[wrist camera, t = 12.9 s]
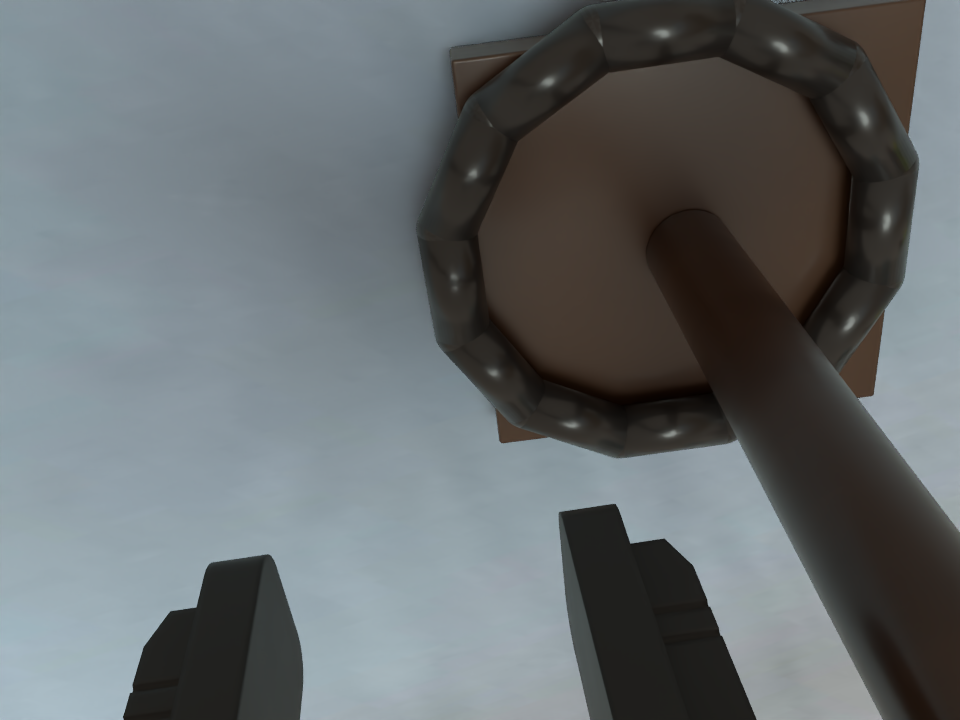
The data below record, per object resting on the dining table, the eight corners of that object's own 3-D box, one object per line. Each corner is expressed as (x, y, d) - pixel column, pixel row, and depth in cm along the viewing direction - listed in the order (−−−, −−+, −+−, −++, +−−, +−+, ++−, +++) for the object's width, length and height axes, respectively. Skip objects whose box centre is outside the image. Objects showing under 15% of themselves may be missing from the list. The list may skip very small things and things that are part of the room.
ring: (458, 459, 22) (460, 491, 21) (383, 28, 17) (380, 42, 16) (872, 402, 22) (894, 431, 20) (926, -50, 16) (960, -41, 15)
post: (496, 416, 23) (585, 1111, 10) (448, 47, 18) (509, 518, 6) (853, 370, 22) (1368, 1017, 10) (898, -13, 18) (1933, 337, 6)
